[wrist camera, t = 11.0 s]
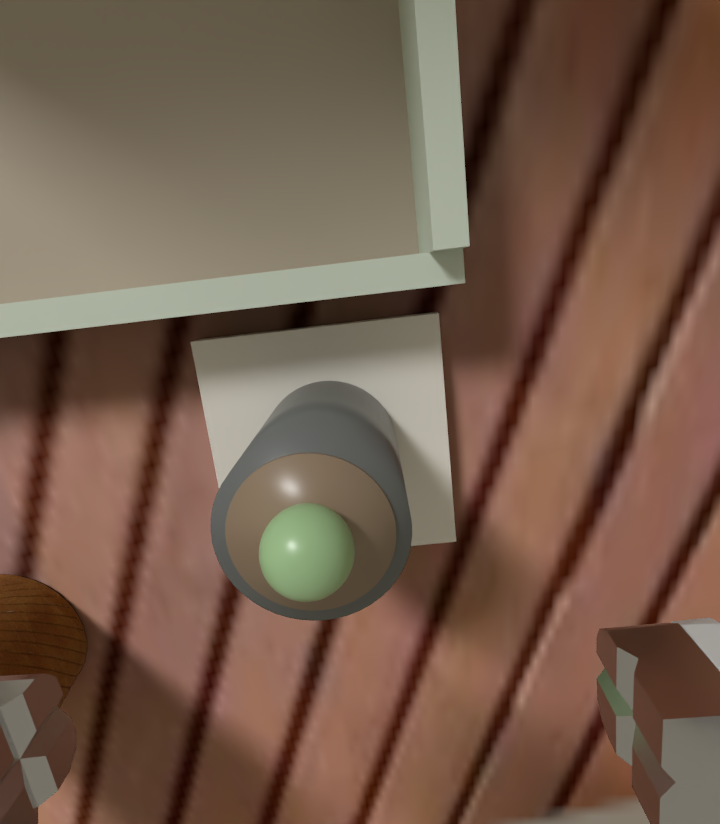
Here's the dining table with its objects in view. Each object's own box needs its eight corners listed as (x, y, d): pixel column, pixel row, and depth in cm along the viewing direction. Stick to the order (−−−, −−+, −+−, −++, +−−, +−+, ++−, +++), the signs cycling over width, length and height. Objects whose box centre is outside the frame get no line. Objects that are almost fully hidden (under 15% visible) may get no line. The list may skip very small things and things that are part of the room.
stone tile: (435, 311, 19) (438, 313, 18) (453, 532, 21) (456, 541, 20) (197, 339, 19) (190, 341, 19) (238, 553, 22) (233, 563, 21)
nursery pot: (389, 373, 19) (408, 453, 10) (402, 499, 20) (430, 667, 11) (254, 388, 19) (159, 479, 10) (275, 512, 20) (206, 687, 12)
